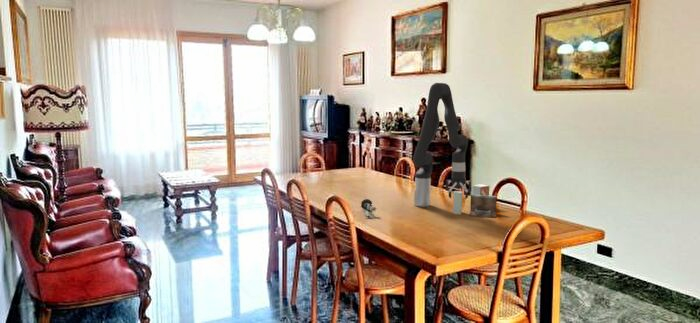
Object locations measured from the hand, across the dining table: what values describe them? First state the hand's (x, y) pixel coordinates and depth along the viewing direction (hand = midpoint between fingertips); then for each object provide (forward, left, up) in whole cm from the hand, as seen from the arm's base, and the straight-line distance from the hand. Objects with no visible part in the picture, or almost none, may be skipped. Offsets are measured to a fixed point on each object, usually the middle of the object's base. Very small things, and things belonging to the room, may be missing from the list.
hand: (458, 198), depth 270 cm
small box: (+12, +20, -9) cm, 25 cm away
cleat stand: (+14, 0, -8) cm, 16 cm away
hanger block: (0, 0, -9) cm, 9 cm away
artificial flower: (-48, -16, -9) cm, 52 cm away
